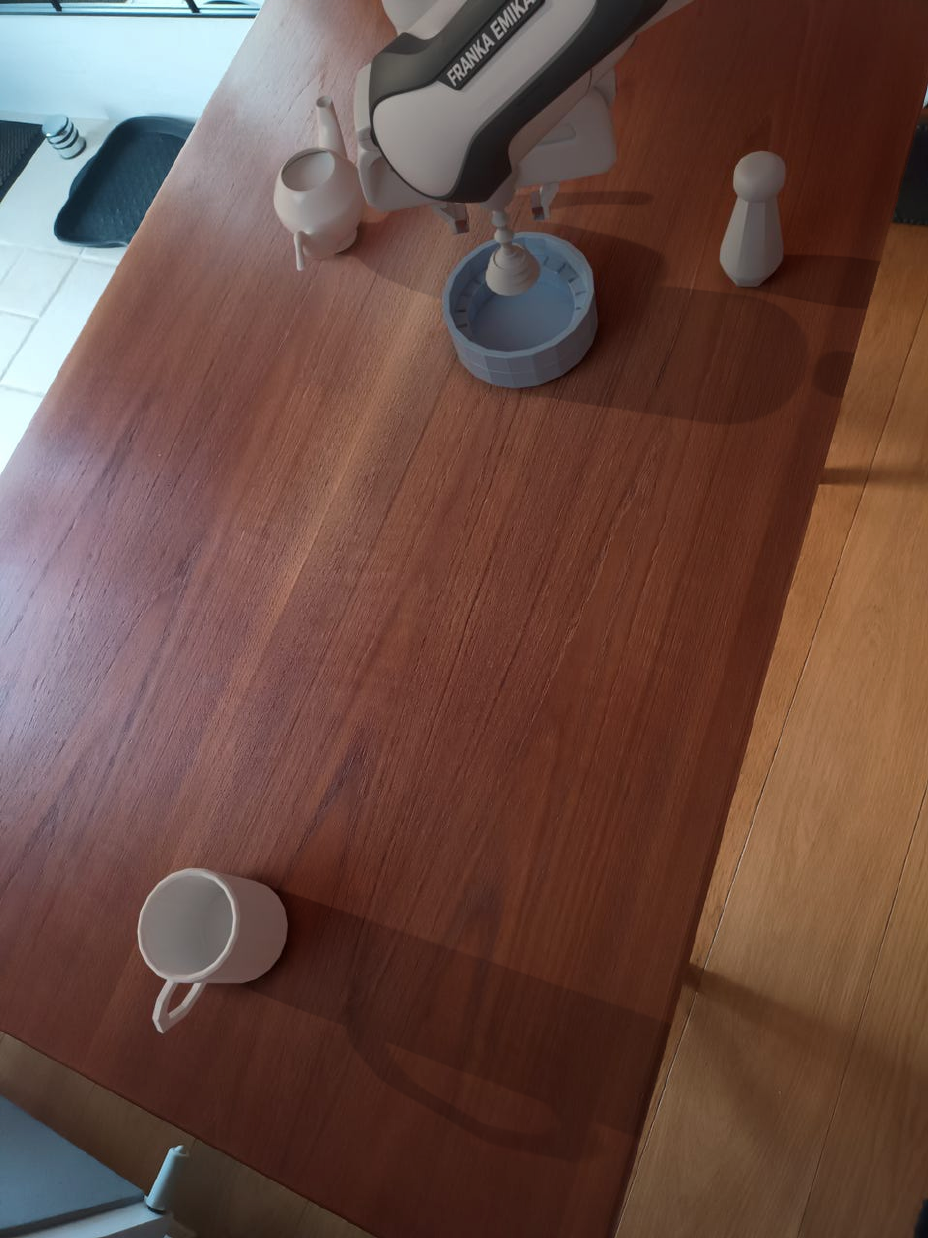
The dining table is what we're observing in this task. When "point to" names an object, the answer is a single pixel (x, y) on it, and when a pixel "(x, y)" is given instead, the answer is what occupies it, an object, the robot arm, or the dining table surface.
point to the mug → (208, 934)
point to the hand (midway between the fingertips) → (500, 221)
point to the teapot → (320, 192)
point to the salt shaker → (754, 221)
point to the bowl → (522, 315)
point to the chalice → (508, 247)
